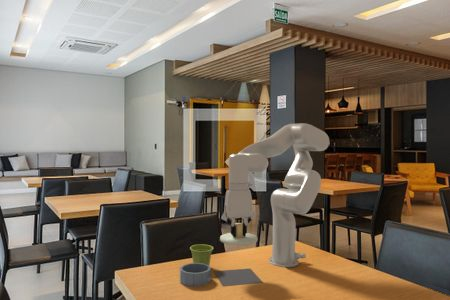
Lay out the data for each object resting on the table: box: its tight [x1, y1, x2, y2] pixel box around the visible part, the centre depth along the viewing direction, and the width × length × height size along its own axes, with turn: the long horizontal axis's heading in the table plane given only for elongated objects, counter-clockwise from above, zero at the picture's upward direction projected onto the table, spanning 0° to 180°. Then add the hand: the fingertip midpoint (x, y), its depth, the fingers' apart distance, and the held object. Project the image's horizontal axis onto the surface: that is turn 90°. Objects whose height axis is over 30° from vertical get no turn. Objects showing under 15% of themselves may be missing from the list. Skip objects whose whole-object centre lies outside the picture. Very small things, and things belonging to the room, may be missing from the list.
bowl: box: [179, 262, 212, 287], centre depth 130 cm, size 11×11×5 cm
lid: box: [219, 222, 258, 246], centre depth 134 cm, size 14×14×6 cm
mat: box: [213, 268, 264, 287], centre depth 134 cm, size 15×15×1 cm
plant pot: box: [189, 243, 214, 266], centre depth 143 cm, size 9×9×9 cm
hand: (238, 235), depth 134 cm, fingers closed on lid, 3 cm apart
